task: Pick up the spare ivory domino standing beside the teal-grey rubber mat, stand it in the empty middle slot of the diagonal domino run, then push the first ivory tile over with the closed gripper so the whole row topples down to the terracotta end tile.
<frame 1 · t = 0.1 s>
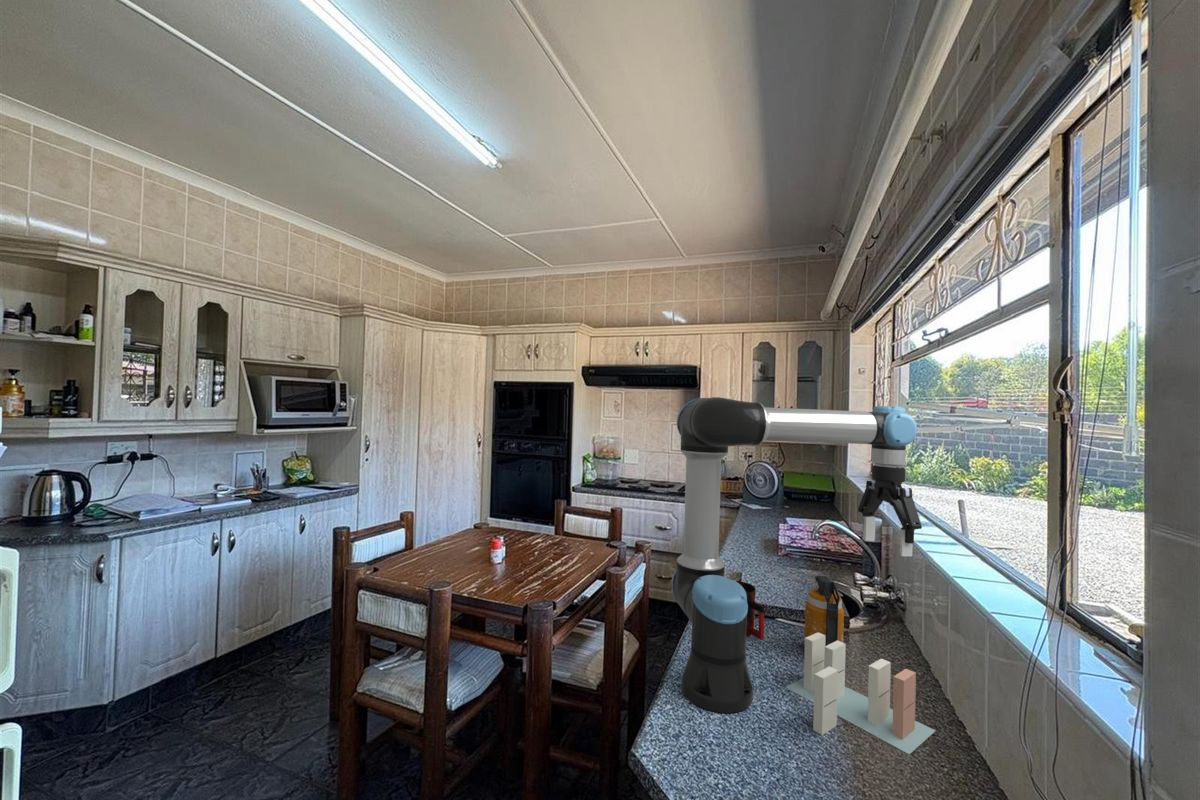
hand: (886, 548, 123), 28 cm above the countertop, fingers open, 13 cm apart
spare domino: (825, 729, 93), on the countertop
mug: (743, 631, 135), on the countertop
domino d: (878, 719, 97), resting on mat
mat: (855, 708, 100), on the countertop
canister: (824, 659, 121), on the countertop
domino a: (814, 686, 108), resting on mat
end domino: (903, 731, 93), resting on mat
domino b: (834, 696, 104), resting on mat
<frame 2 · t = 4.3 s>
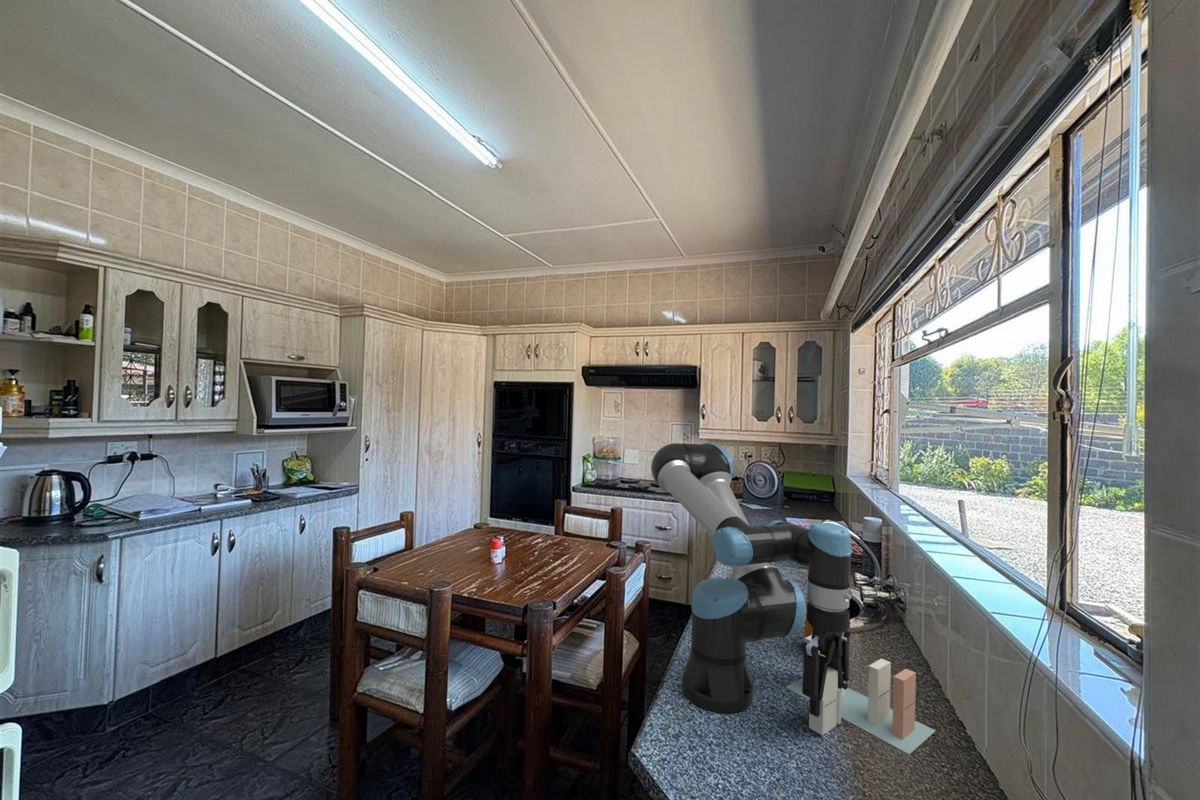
hand: (825, 725, 93), 1 cm above the countertop, fingers closed on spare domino, 5 cm apart
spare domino: (825, 729, 93), on the countertop, touching gripper
everything else where it was.
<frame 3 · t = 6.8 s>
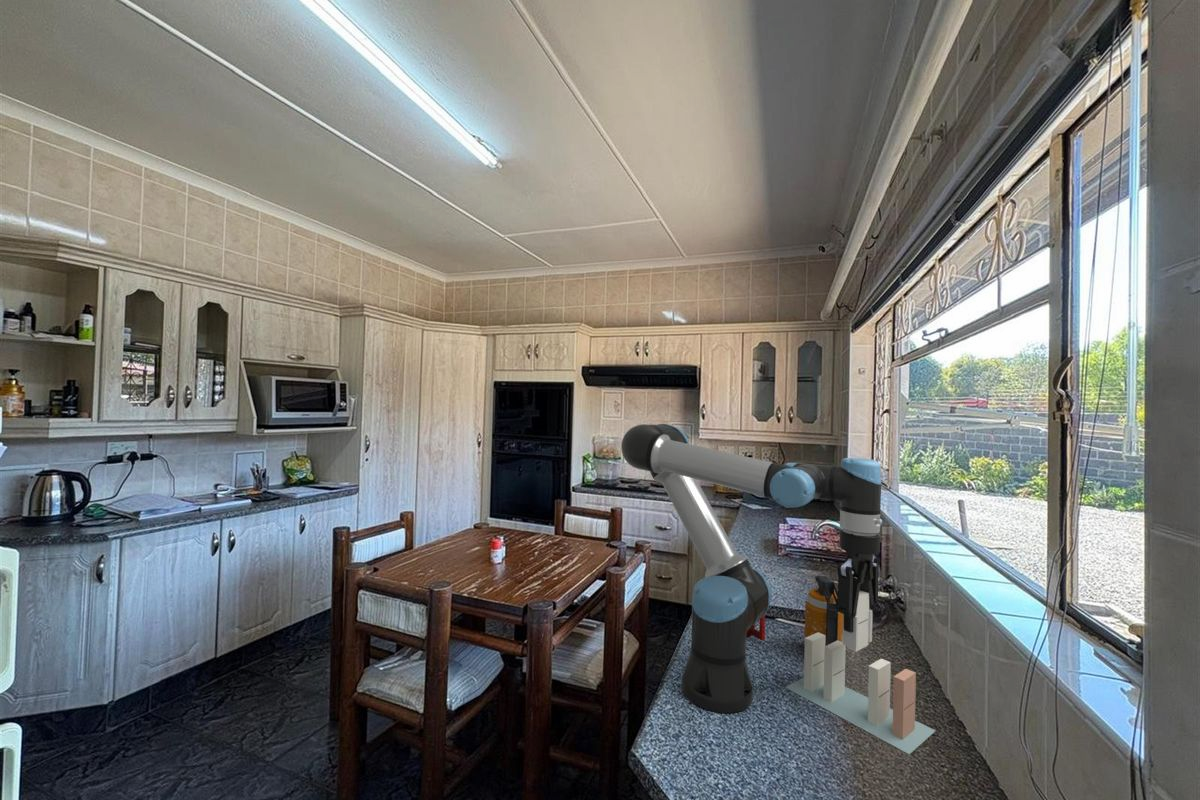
hand: (857, 642, 101), 14 cm above the countertop, fingers closed on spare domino, 5 cm apart
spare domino: (857, 646, 101), point 13 cm above the countertop, touching gripper
everything else where it was.
when the fingers open (2 cm above the countertop, at t = 9.1 s): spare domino stays where it is, resting on mat.
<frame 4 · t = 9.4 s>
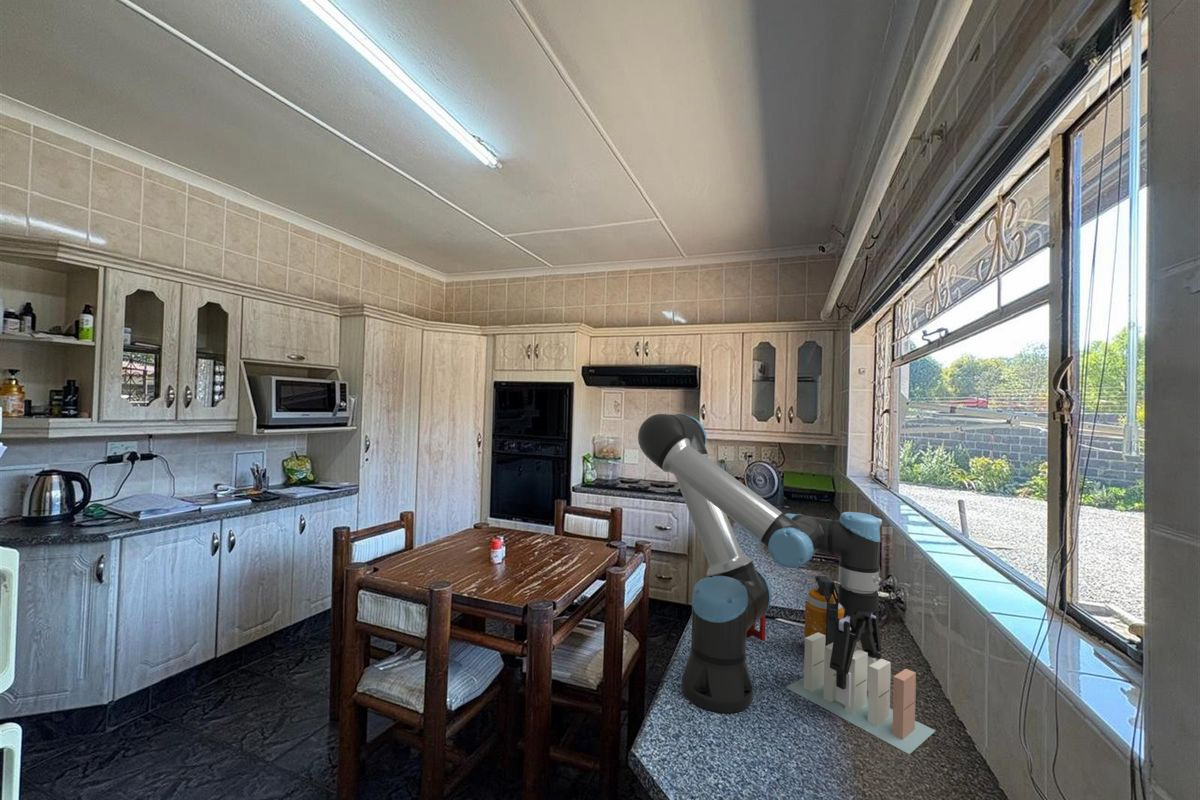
hand: (855, 694, 100), 3 cm above the countertop, fingers open, 10 cm apart
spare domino: (855, 707, 100), resting on mat
everything else where it was.
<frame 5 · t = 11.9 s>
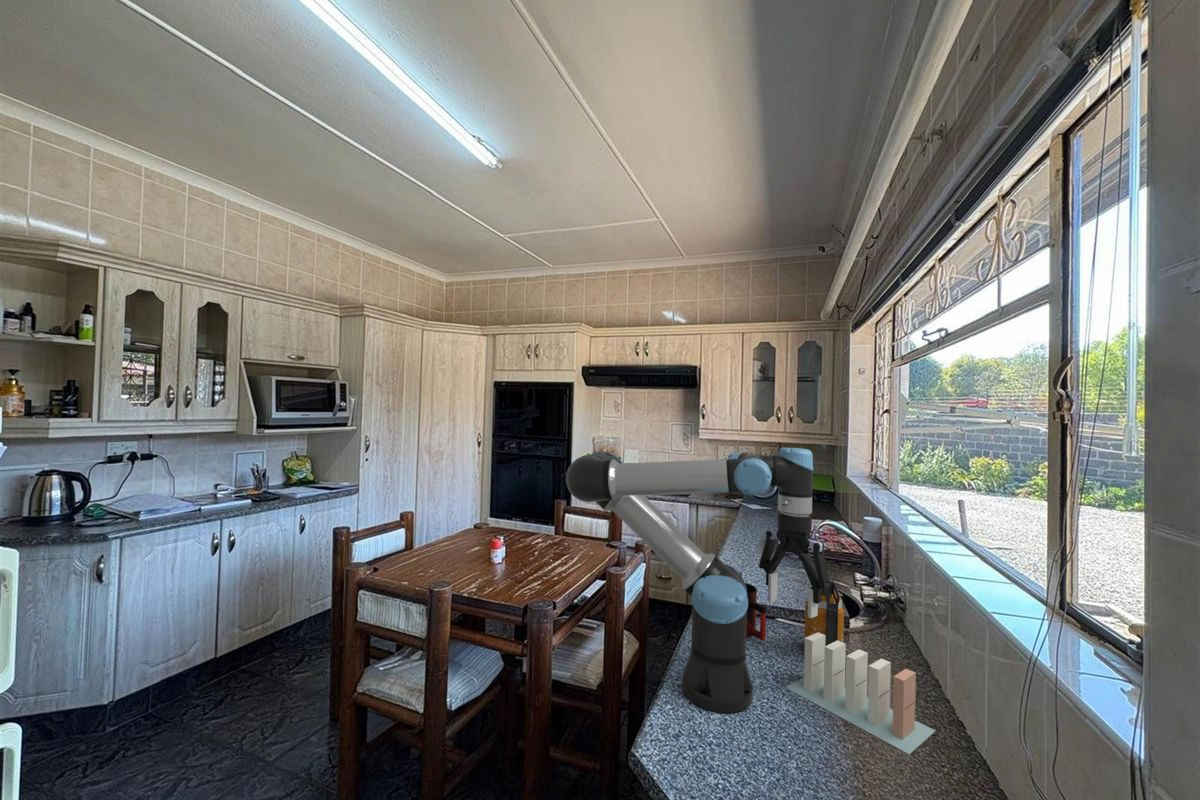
hand: (791, 608, 113), 16 cm above the countertop, fingers open, 10 cm apart
nothing on the countertop moved.
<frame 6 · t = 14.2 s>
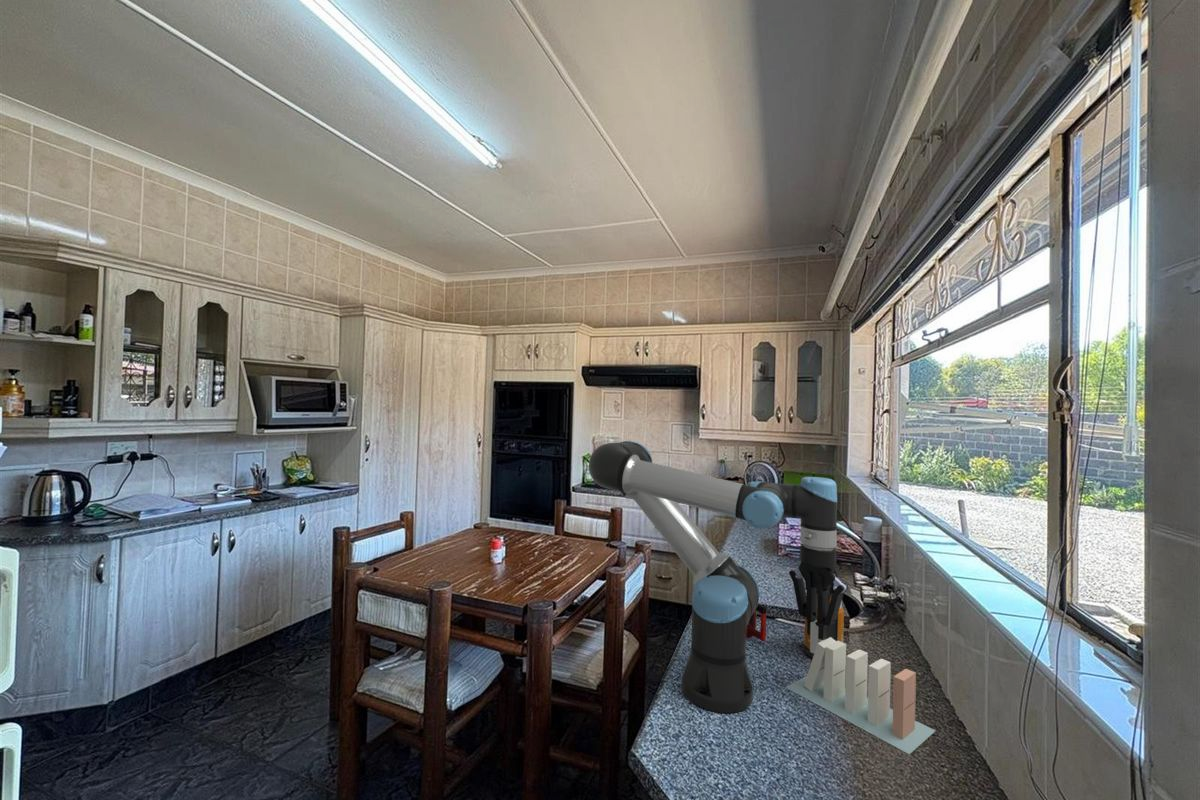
hand: (816, 651, 108), 8 cm above the countertop, fingers closed
domino a: (814, 685, 108), point 1 cm above the countertop, tilted 15°, touching mat
everything else where it was.
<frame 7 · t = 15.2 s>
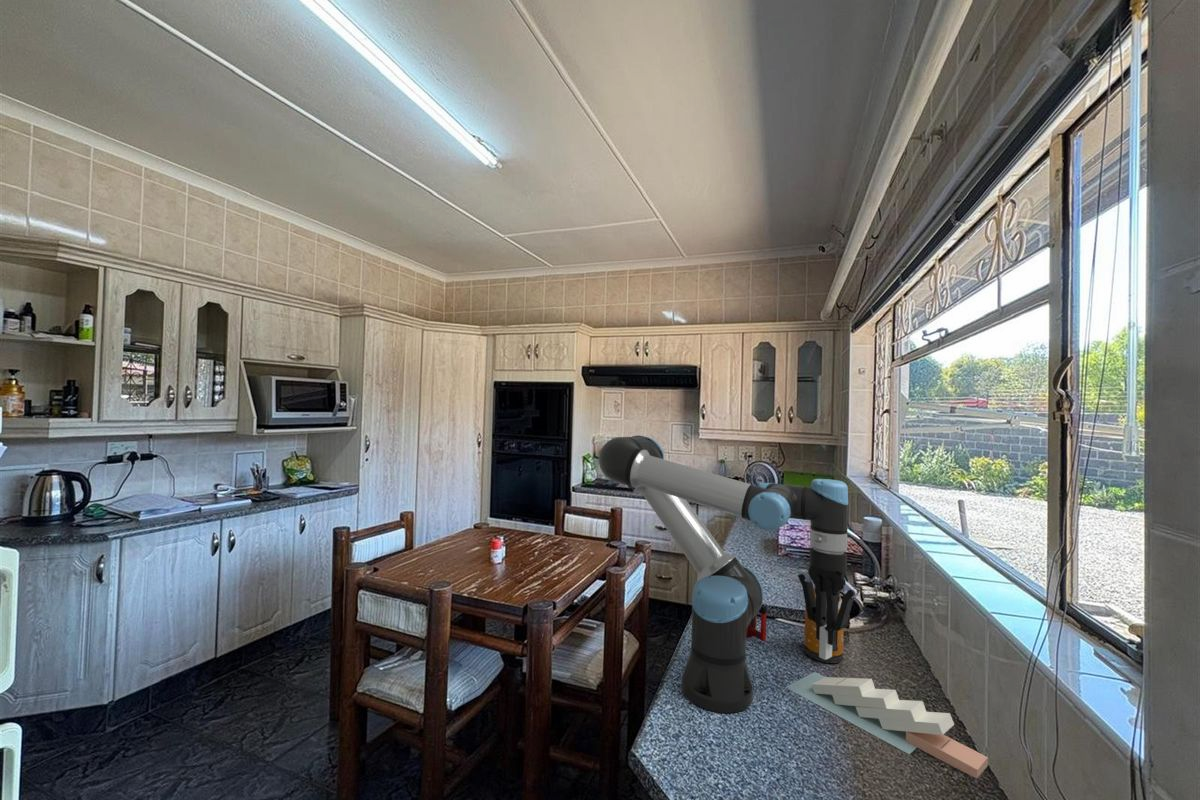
hand: (825, 656, 106), 8 cm above the countertop, fingers closed
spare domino: (863, 707, 99), point 1 cm above the countertop, tilted 66°, touching domino b, domino d, mat
domino d: (887, 719, 95), point 1 cm above the countertop, tilted 66°, touching end domino, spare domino
domino a: (819, 685, 107), point 1 cm above the countertop, tilted 67°, touching domino b, mat
end domino: (911, 731, 92), point 1 cm above the countertop, tilted 92°, touching domino d, mat
domino b: (840, 695, 103), point 1 cm above the countertop, tilted 67°, touching domino a, mat, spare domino
everything else where it was.
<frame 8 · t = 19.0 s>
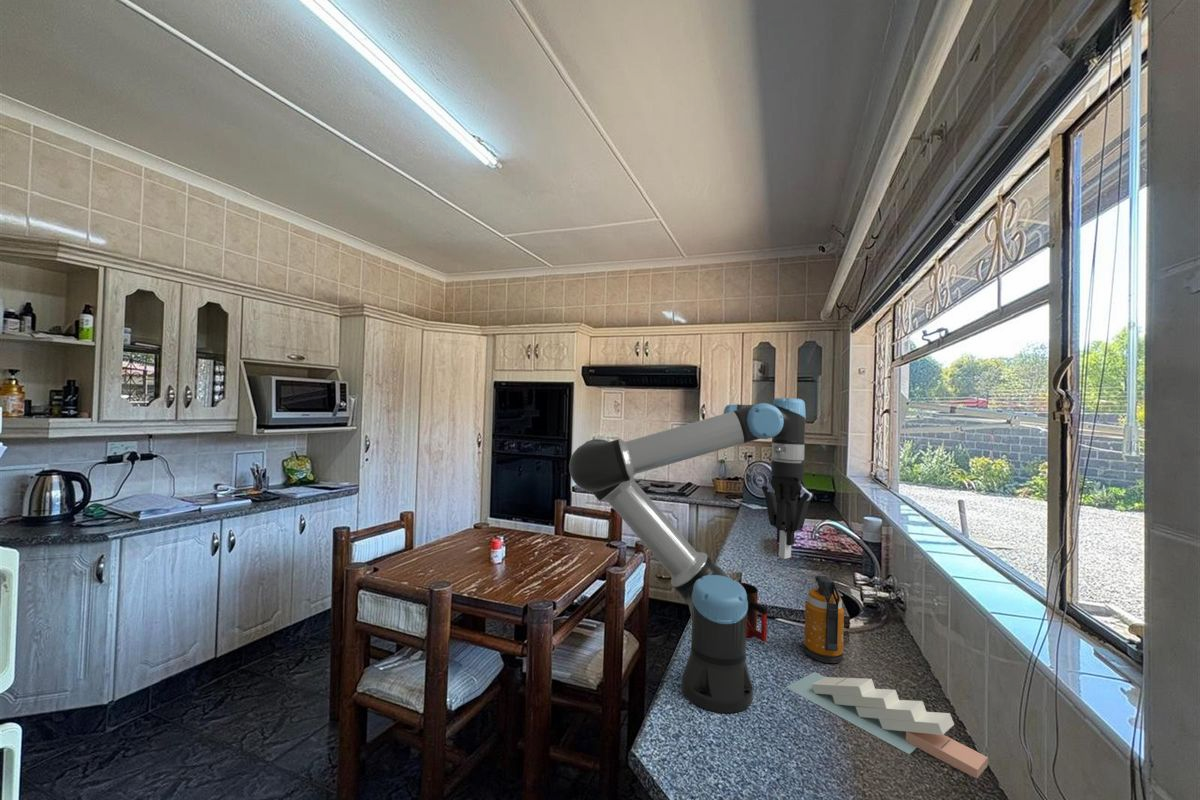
hand: (785, 557, 117), 26 cm above the countertop, fingers closed
at the end: end domino tilted 92°; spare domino tilted 66° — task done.
